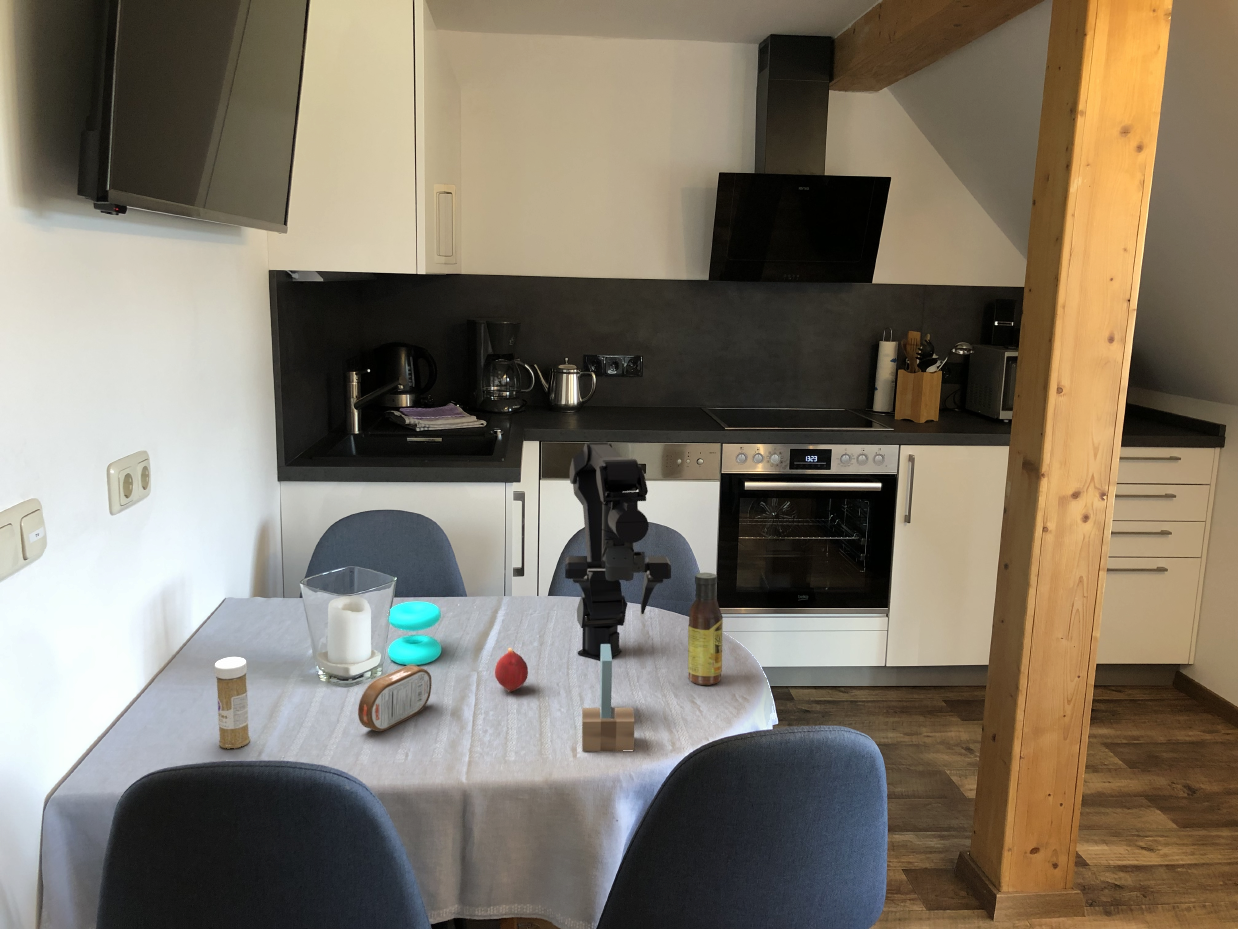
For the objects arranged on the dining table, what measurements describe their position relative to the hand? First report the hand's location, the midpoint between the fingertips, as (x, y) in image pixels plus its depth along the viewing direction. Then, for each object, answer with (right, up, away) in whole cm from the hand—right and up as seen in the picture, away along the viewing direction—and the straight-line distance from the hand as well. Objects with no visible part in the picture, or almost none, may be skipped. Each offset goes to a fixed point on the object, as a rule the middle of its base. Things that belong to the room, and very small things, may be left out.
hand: (616, 613), depth 178 cm
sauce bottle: (+16, -13, +4) cm, 21 cm away
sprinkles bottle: (-59, -17, -24) cm, 66 cm away
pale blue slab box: (-2, -15, -12) cm, 20 cm away
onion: (-19, -14, -3) cm, 23 cm away
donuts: (-39, -11, +12) cm, 42 cm away
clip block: (-1, -17, -22) cm, 28 cm away
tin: (-36, -16, -15) cm, 42 cm away
